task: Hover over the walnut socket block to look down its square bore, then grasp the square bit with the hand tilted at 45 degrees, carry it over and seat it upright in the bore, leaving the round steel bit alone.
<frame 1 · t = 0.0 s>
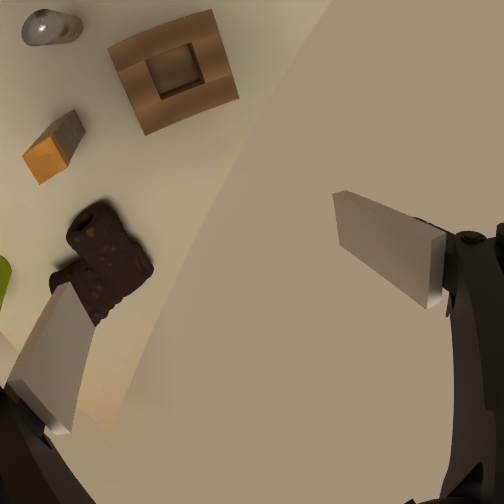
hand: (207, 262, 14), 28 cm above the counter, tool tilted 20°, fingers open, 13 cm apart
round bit: (69, 29, 22), on the counter
socket block: (171, 67, 30), on the counter
pipe: (97, 252, 43), on the counter
square bit: (68, 127, 30), on the counter
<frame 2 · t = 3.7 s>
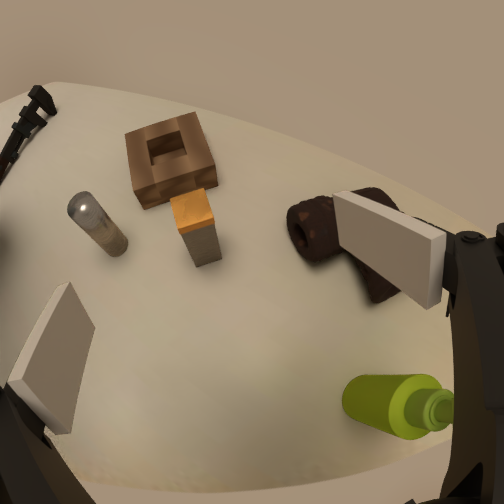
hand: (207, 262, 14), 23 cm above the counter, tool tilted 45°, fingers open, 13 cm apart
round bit: (116, 245, 39), on the counter
socket block: (172, 168, 44), on the counter
soap dispenser: (364, 401, 32), on the counter
pipe: (355, 251, 40), on the counter
square bit: (205, 251, 39), on the counter
adjustable wrench: (20, 155, 47), on the counter
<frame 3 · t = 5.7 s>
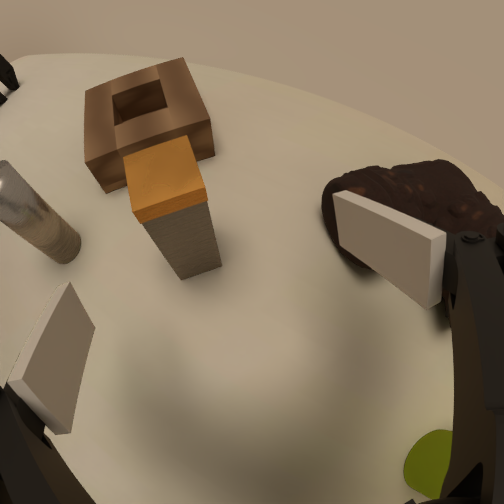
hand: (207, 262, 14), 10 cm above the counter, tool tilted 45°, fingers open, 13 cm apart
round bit: (66, 246, 24), on the counter
socket block: (150, 135, 29), on the counter
soap dispenser: (430, 464, 18), on the counter
pipe: (417, 251, 25), on the counter
square bit: (195, 253, 24), on the counter
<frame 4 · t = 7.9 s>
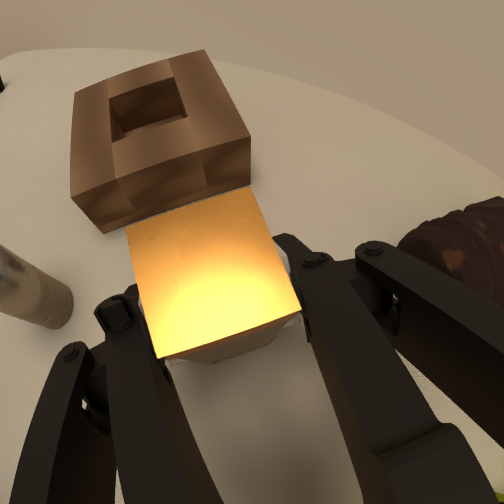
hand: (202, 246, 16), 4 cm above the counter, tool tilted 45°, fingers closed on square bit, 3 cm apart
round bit: (54, 305, 18), on the counter
socket block: (160, 151, 22), on the counter
pipe: (484, 306, 18), on the counter
square bit: (231, 327, 18), on the counter, touching gripper
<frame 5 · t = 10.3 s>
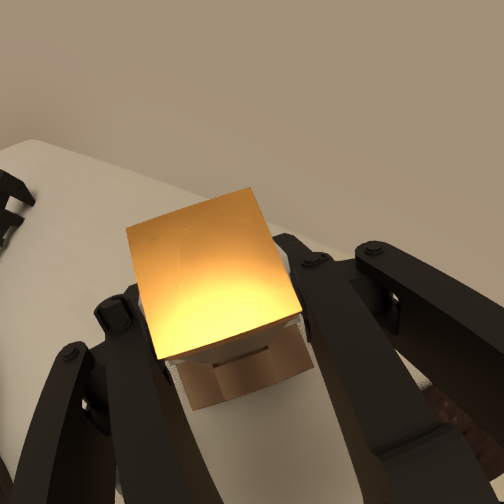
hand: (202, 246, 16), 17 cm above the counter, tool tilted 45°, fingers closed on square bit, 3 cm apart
socket block: (233, 337, 30), on the counter
pipe: (447, 423, 26), on the counter
square bit: (231, 327, 18), point 13 cm above the counter, touching gripper
when the fingers open (7 cm above the counter, at t = 13.1 s): square bit drops 2 cm, resting on socket block.
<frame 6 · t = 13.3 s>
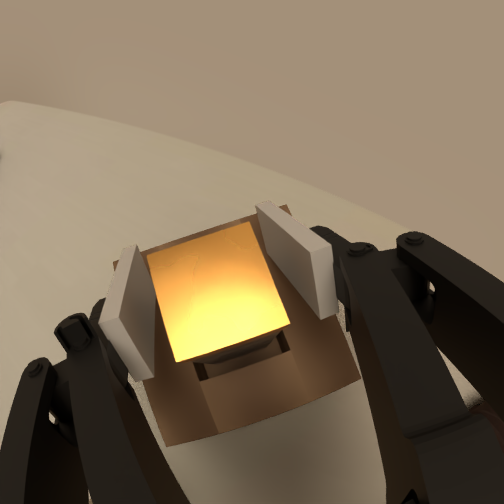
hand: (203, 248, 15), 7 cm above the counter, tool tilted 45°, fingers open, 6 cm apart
socket block: (233, 333, 21), on the counter
pipe: (499, 443, 16), on the counter
square bit: (232, 332, 20), point 1 cm above the counter, touching socket block
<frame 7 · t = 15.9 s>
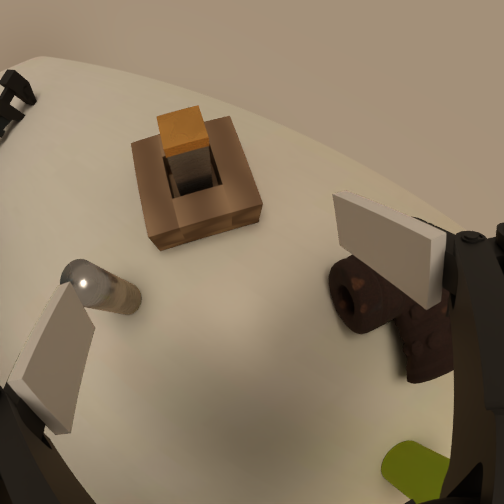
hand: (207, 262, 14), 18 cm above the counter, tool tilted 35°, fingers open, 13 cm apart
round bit: (126, 298, 30), on the counter
socket block: (196, 191, 34), on the counter
soap dispenser: (400, 464, 27), on the counter
pipe: (397, 312, 32), on the counter
square bit: (195, 188, 33), point 1 cm above the counter, touching socket block
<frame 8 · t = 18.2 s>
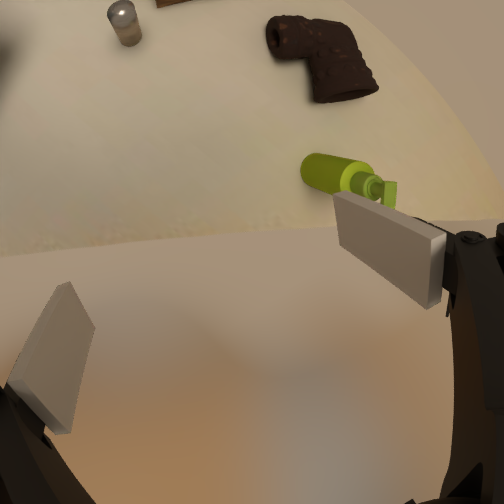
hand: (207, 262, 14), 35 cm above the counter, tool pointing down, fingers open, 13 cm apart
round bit: (130, 37, 35), on the counter
soap dispenser: (315, 172, 51), on the counter
pipe: (313, 61, 43), on the counter
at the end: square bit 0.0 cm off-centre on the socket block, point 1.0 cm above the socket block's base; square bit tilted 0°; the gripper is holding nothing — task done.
